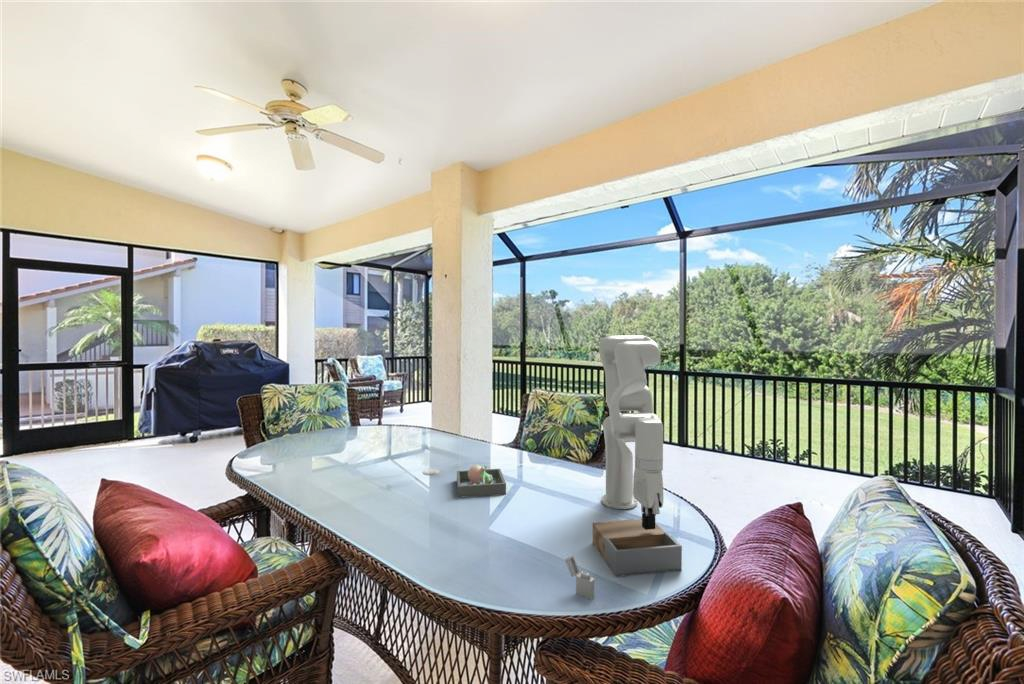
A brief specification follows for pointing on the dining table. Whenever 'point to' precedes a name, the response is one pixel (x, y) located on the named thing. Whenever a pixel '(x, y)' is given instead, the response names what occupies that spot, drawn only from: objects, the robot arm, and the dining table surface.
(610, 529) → the bench plate
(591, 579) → the lighter
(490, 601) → the dining table surface
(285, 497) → the dining table surface
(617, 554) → the box
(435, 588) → the dining table surface
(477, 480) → the orange and green lump
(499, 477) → the dark shallow tray
